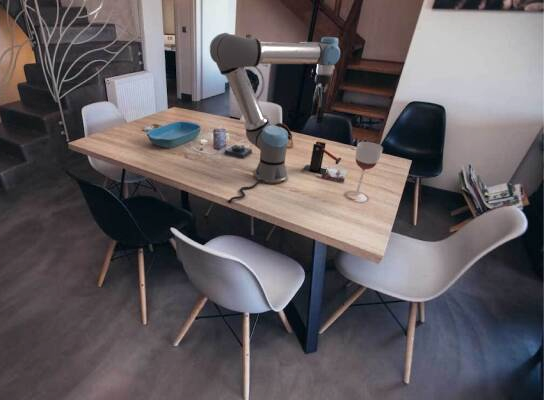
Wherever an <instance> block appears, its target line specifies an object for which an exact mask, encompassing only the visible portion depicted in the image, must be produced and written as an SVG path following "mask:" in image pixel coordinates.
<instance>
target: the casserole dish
mask: <svg viewBox="0 0 544 400" xmlns="http://www.w3.org/2000/svg"><path fill="white" fill-rule="evenodd" d="M201 129H202V125H200V124H198V123H197V122H193V121H185V120H182V121H181V120H178V121H173V122H170V123H167V124H164V125H161V126H158V127H155V128H152V129H149V130H147V131H146V136H147V138H148V140H149V142H150V143H151V144H153V145H154V146H157V147H161V148H164V149H173V148H176V147H179V146H181V145H184V144H185V143H188V142H191V141H193V140H194V139H196V138H198V137H199V135H200V134H201Z"/></svg>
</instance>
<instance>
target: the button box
mask: <svg viewBox="0 0 544 400" xmlns="http://www.w3.org/2000/svg"><path fill="white" fill-rule="evenodd" d="M252 153H253V149H252V148H248V147H245V145H243V144H242V148H235V144H233V145H231V146H229V147H228V148H226V149H224V155H227V156H231V157H236V158H240V159H246V157H248V156H249V155H251V154H252Z"/></svg>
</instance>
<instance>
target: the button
mask: <svg viewBox="0 0 544 400" xmlns="http://www.w3.org/2000/svg"><path fill="white" fill-rule="evenodd" d="M234 145H235V148H242V145H243V144H242V143H241V142H236V143H235V144H234Z"/></svg>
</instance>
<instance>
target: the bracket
mask: <svg viewBox="0 0 544 400" xmlns="http://www.w3.org/2000/svg"><path fill="white" fill-rule="evenodd" d="M318 143H320V144H321V145H318ZM326 144H327V143H326V142H323V141H315V143H313V146H312V150H311V151H312V152H311V157H310V164H305V166H304V167H303V168H302V169H301V171H305V172H308V173H312V174H316V175H320V176H325V174H326V173H327V172H326V170H327V168H324V167H322V165H323V160H324V155H325V153H324V152H323V149H325V150H326V146H327V145H326ZM323 146H324V147H323ZM327 171H328V170H327Z"/></svg>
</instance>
